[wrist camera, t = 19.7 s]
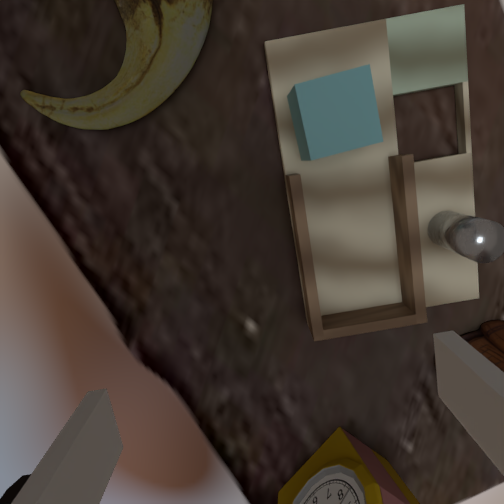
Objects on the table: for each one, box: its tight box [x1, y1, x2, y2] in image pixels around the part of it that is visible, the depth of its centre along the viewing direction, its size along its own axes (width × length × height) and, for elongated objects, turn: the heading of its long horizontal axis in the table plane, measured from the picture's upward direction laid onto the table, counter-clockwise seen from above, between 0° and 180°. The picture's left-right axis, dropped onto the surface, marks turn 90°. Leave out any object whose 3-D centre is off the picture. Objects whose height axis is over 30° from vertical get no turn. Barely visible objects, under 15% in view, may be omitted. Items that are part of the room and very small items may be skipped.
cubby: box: [285, 154, 427, 341], centre depth 39 cm, size 16×11×4 cm
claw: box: [20, 0, 213, 130], centre depth 36 cm, size 20×10×3 cm, turn 138°
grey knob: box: [428, 211, 504, 263], centre depth 37 cm, size 4×4×7 cm
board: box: [264, 4, 479, 326], centre depth 40 cm, size 28×18×2 cm, turn 10°
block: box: [287, 64, 383, 161], centre depth 35 cm, size 6×6×6 cm
